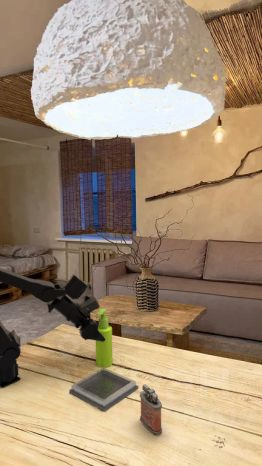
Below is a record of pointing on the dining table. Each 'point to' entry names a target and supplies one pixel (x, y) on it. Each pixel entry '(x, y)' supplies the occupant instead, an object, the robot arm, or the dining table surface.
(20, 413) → the dining table surface
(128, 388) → the holder
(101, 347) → the soap dispenser
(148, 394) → the lighter
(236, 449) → the dining table surface
